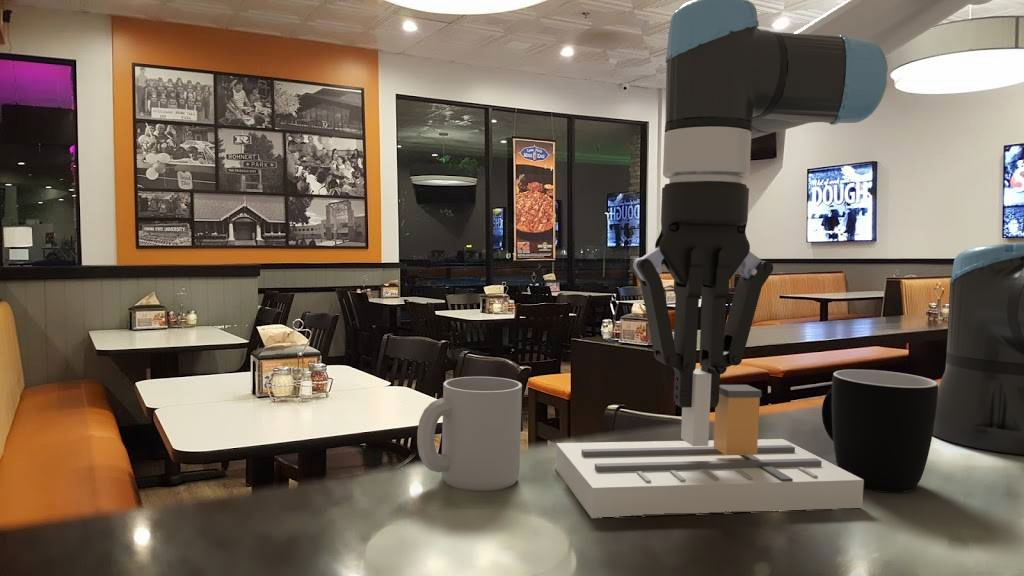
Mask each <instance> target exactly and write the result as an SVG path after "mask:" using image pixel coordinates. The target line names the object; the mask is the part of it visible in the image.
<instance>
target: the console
mask: <svg viewBox="0 0 1024 576" xmlns="http://www.w3.org/2000/svg"><path fill="white" fill-rule="evenodd" d="M554 464H555V468H554V469H555V470H556V472H557V473H558V474H559V476H560V477H561V478H562V479H563V481H564V482H565V484H566V485H567V487H568V488H569V490H571V492H572V493H573V495H574V496H575V497H576V498H575V499H577V500H578V502H579V503H580V504H581V506H582V507H583V508H584V510H585V511H586V512H587V514H588V515H589V517H590V518H591V519H603V518H602V517H614V518H620V517H619V516H631V515H634V516H635V515H643V514H664V513H700V512H701V513H709V512H725V511H727V512H728V511H729V512H731V511H746V510H747V511H753V510H754V511H774V510H775V511H779V510H780V511H779V512H789V511H788V510H801V509H802V510H803V509H832V508H833V510H837V509H836V508H861V509H863V500H864V499H863V497H864V488H863V484H864V480H863V479H861V478H859V477H857V476H855V475H853V474H851V473H849V472H847V471H845V470H843V469H841V468H839V467H838V466H837V465H835V464H833V463H831V462H830V461H827V460H825V459H824V458H822V457H820V456H817V455H815V454H814V453H811V452H810V451H807V450H806V449H804V448H801V447H800V446H798V445H796V444H794V443H793V442H790V441H788V440H786V439H784V438H770V439H769V438H764V439H763V438H762V439H759V438H758V444H757V455H725V454H723V453H721V452H720V451H718V450H717V449H715V448H714V439H712V440H710V439H709V442H708V446H692V445H690V444H689V443H687V442H686V441H684V440H662V441H661V440H654V441H653V440H652V441H649V440H648V441H609V442H608V441H605V442H601V441H600V442H599V441H598V442H594V441H593V442H556V443H555V463H554ZM834 508H835V509H834ZM781 510H782V511H781ZM783 510H785V511H783ZM786 510H787V511H786ZM615 516H616V517H615ZM598 517H599V518H598Z"/></svg>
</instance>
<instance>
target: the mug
mask: <svg viewBox="0 0 1024 576" xmlns="http://www.w3.org/2000/svg"><path fill="white" fill-rule="evenodd" d="M831 380H832V382H831V389H829V390H828V392H827V393H826V395H825V396H824V399H823V402H822V405H821V420H822V423H823V427H824V429H825V431H826V434H827V436H828V437H829V438H830V439H831V441H832V442H833V449H834V457H835V460H836V466H837V467H839V468H841V469H843V470H845V471H847V472H849V473H851V474H853V475H855V476H857V477H859V478H861V479H863V480H864V484H863V489H865V490H870V491H875V492H880V493H881V492H883V493H894V494H895V493H898V494H899V493H908V492H911V491H913V490H915V488H917V486H918V484H919V483H920V481H921V480H922V478H923V474H924V472H925V468H926V465H927V462H928V457H929V454H930V453H929V452H930V449H931V446H932V445H931V444H932V439H933V435H932V434H933V428H934V422H935V415H936V407H937V397H938V386H939V384H938V383H937V381H935V380H933V379H931V378H927V377H924V376H919V375H914V374H909V373H902V372H896V371H895V372H894V371H887V370H877V369H842V370H836V371H834V372H833V374H832V379H831Z"/></svg>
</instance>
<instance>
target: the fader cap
mask: <svg viewBox="0 0 1024 576" xmlns="http://www.w3.org/2000/svg"><path fill="white" fill-rule="evenodd" d="M762 392H763V391H762V390H761V389H758V388H756V387H753V386H751V385H749V384H720V390H719V403H718V405H717V407H714V425H713V426H714V428H713V429H714V430H713V431H714V432H713V440H714V448H715V449H717V450H718V451H720V452H721V453H723V454H725V455H757V444H758V439H759V423H760V422H759V420H760V419H759V418H760V400H761V399H760V398H762Z"/></svg>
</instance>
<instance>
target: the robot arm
mask: <svg viewBox="0 0 1024 576" xmlns="http://www.w3.org/2000/svg"><path fill="white" fill-rule="evenodd" d="M992 1H993V0H846V1H843V2H842V3H840V4H838V5H837V6H835V7H834V8H832V9H831V10H829V11H828V12H826V13H824V14H823V15H821V16H820V17H818V18H816V19H814V20H813V21H811V22H810V23H807V25H805V26H803V27H802V28H800V29H798V30H797V31H794V33H791V32H780V31H779V32H778V31H777V32H776V31H770V30H767V29H760V28H758V27H759V26H760V24H759V22H760V21H759V19H758V12H757V7H756V6H755V4H754V3H752V2H751V0H690V1H687V2H685V3H684V4H682V5H681V6H680V7H678V8H677V9H676V10H675V11H674V12H673V14H672V15H671V18H670V21H669V23H670V24H669V30H668V36H667V37H668V38H667V47H666V57H665V60H664V61H665V64H666V68H665V69H666V71H665V72H666V73H665V74H666V76H665V125H664V137H663V139H664V140H663V159H662V161H663V163H662V164H663V165H662V176H663V177H664V178H665V179H668V180H669V183H665V184H664V187H662V188H661V206H660V207H661V208H660V211H661V212H660V225H661V227H660V228H661V229H660V233H659V235H658V237H657V238H656V241H655V244H654V249H652V250H650V251H649V252H648V253H646V254H644V255H643V256H642V257H634V258H633V259H631V261H630V264H629V266H630V269H631V270H632V272H633V273H634V275H635V277H636V278H637V280H638V282H639V284H640V288H641V294H642V299H643V305H644V310H645V314H646V318H647V319H646V320H647V324H648V330H649V334H650V339H651V345H652V350H653V356H654V358H655V360H656V361H658V362H660V363H662V364H664V365H667V366H668V367H671V368H672V369H673V371H674V376H673V377H674V379H673V401H674V404H675V405H676V406H678V407H680V408H681V427H680V428H681V430H680V431H681V432H680V439H682V441H686V442H687V443H689V444H690V445H692V446H708V442H709V440H710V439H709V438H710V437H709V436H710V417H711V416H710V415H711V414H710V413H711V408H715V407H717V405H718V403H719V390H720V385H721V375H724V374H725V373H726V372H727V369H728V368H729V367H731V366H735V367H737V366H739V365H741V363H742V361H743V358H744V353H745V350H746V347H747V343H748V340H749V339H748V338H749V336H750V333H751V332H750V331H751V329H752V325H753V321H754V319H755V318H754V317H755V312H756V310H757V307H758V302H759V299H760V296H761V291H762V289H763V288H762V287H763V286H764V285H765V283H766V281H767V280H768V278H770V276H771V274H772V272H773V271H774V265H773V263H772V262H771V261H768V260H767V261H766V260H762V259H760V258H759V257H758V256H756V255H755V254H754V253H752V252H751V251H750V250H751V244H750V242H749V240H748V237H747V235H746V229H747V225H748V219H749V201H750V200H749V199H750V198H749V195H750V188H749V187H747V184H746V183H743V180H745V179H747V178H748V177H749V176H750V174H751V149H752V139H755V138H759V137H763V136H766V135H769V134H773V133H777V132H781V131H784V130H788V129H791V128H792V129H793V128H796V127H799V126H803V125H807V124H811V123H826V124H829V125H833V126H835V125H837V124H849V123H850V124H856V123H860V122H862V121H865V120H866V119H867V118H869V117H870V116H871V115H872V114H873V113H874V112H875V111H876V109H877V108H878V107H879V106H880V103H881V102H882V99H883V97H884V94H885V93H886V90H887V85H888V80H887V79H888V77H887V76H888V69H889V67H888V61H887V56H888V55H890V54H893V52H895V51H897V50H898V49H900V48H902V47H903V46H905V45H906V44H908V43H910V42H911V41H913V40H914V39H916V38H917V37H919V36H921V35H923V34H924V33H926V32H928V31H929V30H931V29H932V28H934V27H935V26H937V25H938V24H940V23H942V22H943V21H945V20H948V18H950V17H952V16H953V15H954V14H956V13H957V12H959V11H961V10H963V9H964V8H966V7H967V6H969V5H972V6H980V5H985V4H987V3H990V2H992ZM662 263H663V264H664V266H665V267H666V269H667V271H668V273H669V274H670V275H671V278H672V279H673V293H674V296H675V298H674V299H675V300H674V301H675V302H674V304H675V305H674V322H673V323H674V325H673V327H674V328H673V330H672V324H671V319H670V314H669V313H670V312H669V309H668V305H667V298H666V293H665V288H664V283H663V281H662V278H661V274H662V272H663V266H662ZM737 270H738V274H739V275H740V277H739V278H738V281H737V283H736V286H735V290H734V293H733V297H732V299H731V300H732V301H731V304H730V309H729V312H728V314H727V319H726V308H727V307H726V305H727V297H728V296H729V293H730V280H731V279H732V278H733V276H734V274H735V272H737ZM700 297H701V309H700V311H701V312H700V334H699V335H700V336H699V337H700V338H699V358H698V359H699V361H698V363H699V366H700V367H701V368H697V348H698V330H699V329H698V326H699V324H698V323H699V304H700V303H699V302H700ZM948 297H949V298H948V318H947V319H948V320H947V321H948V322H947V339H946V340H947V341H946V357H945V358H946V359H945V369H944V372H943V375H942V376H941V379H940V382H939V384H938V397H937V407H936V415H935V422H934V428H933V434H932V436H935V437H937V438H939V439H942V440H944V441H948V442H951V443H955V444H958V445H961V446H966V447H970V448H975V449H979V450H986V451H991V452H999V453H1006V454H1014V455H1021V456H1022V455H1023V456H1024V242H1017V243H1001V244H992V245H989V244H988V245H984V246H983V245H982V246H976V247H971V248H968V249H964V250H962V251H960V252H959V253H958V254H957V255H956V256H955V258H954V260H953V265H952V271H951V278H950V279H949V295H948Z"/></svg>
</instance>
